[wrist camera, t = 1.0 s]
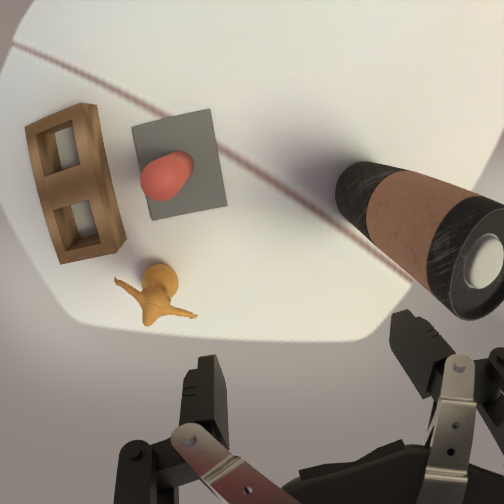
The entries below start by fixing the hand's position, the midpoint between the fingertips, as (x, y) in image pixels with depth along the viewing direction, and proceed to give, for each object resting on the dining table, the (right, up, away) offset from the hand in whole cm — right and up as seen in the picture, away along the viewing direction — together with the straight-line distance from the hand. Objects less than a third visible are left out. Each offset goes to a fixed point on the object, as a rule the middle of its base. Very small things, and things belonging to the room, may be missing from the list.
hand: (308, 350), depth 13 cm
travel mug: (+10, +11, +20) cm, 25 cm away
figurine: (-12, +3, +21) cm, 24 cm away
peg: (-10, +13, +17) cm, 23 cm away
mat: (-10, +13, +17) cm, 23 cm away
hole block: (-21, +12, +16) cm, 29 cm away
